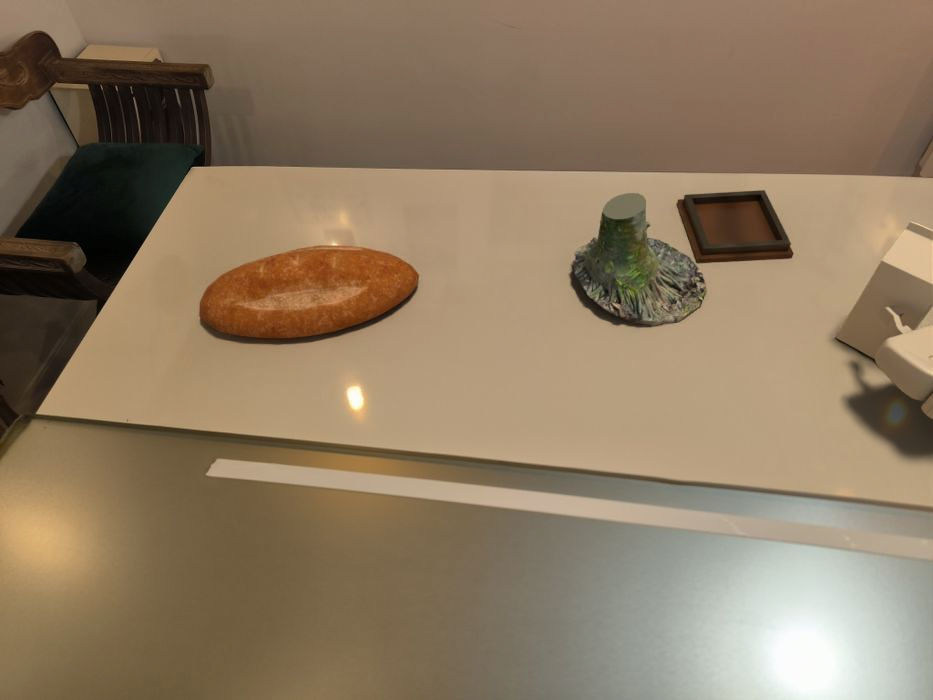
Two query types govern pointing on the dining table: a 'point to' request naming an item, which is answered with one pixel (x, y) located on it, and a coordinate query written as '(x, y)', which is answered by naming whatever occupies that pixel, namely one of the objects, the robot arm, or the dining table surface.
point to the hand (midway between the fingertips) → (917, 299)
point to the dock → (733, 227)
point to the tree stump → (637, 268)
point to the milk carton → (894, 291)
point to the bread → (306, 292)
